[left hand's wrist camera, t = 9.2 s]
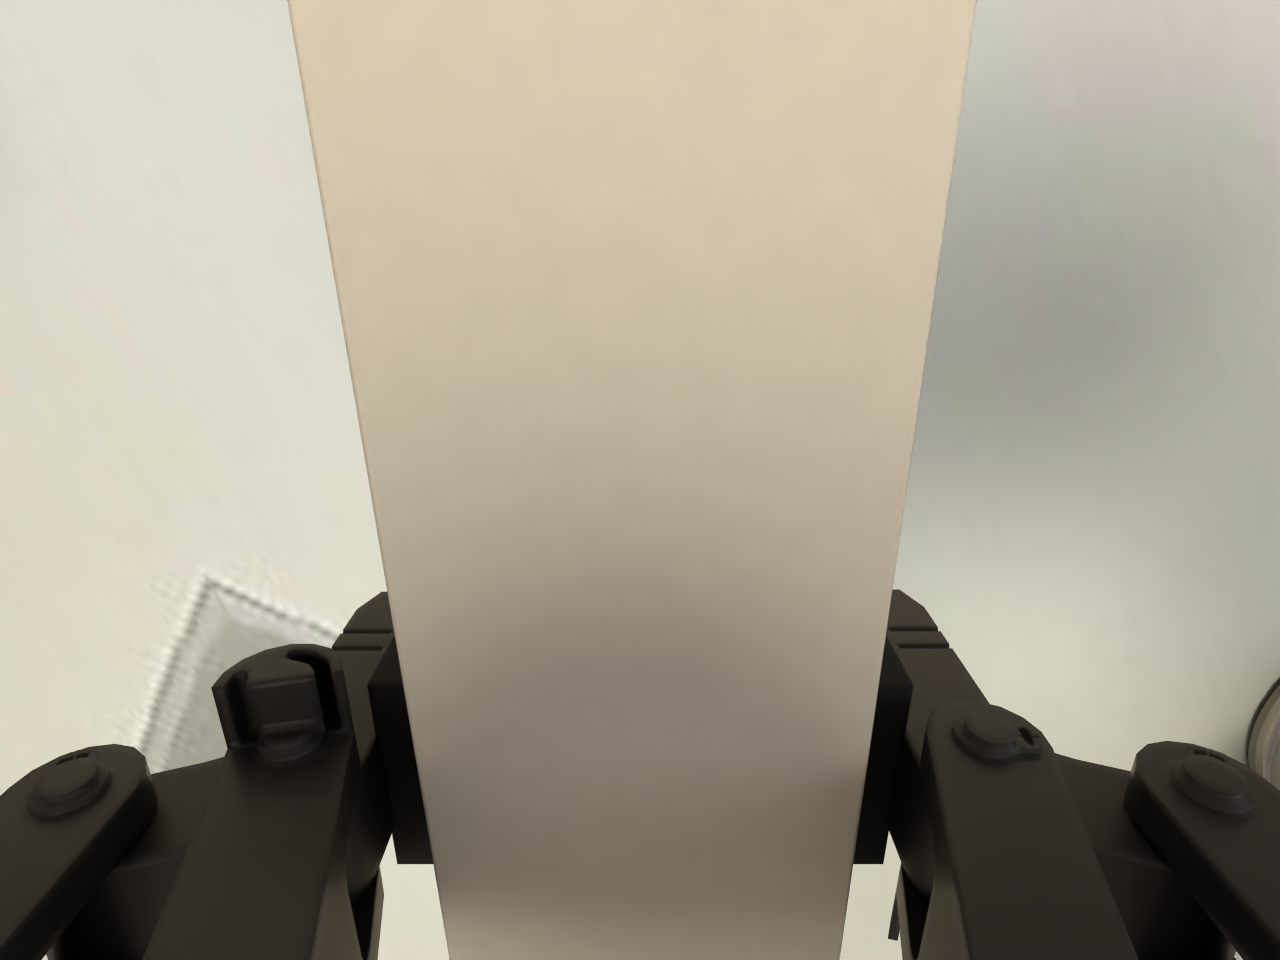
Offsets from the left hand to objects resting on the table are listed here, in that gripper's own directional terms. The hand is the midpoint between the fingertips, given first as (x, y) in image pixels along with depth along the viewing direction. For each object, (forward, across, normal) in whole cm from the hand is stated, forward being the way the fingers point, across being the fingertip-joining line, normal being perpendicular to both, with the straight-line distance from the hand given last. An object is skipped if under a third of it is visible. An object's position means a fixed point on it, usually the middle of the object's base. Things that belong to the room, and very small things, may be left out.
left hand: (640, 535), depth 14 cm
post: (+1, 0, -32) cm, 32 cm away
